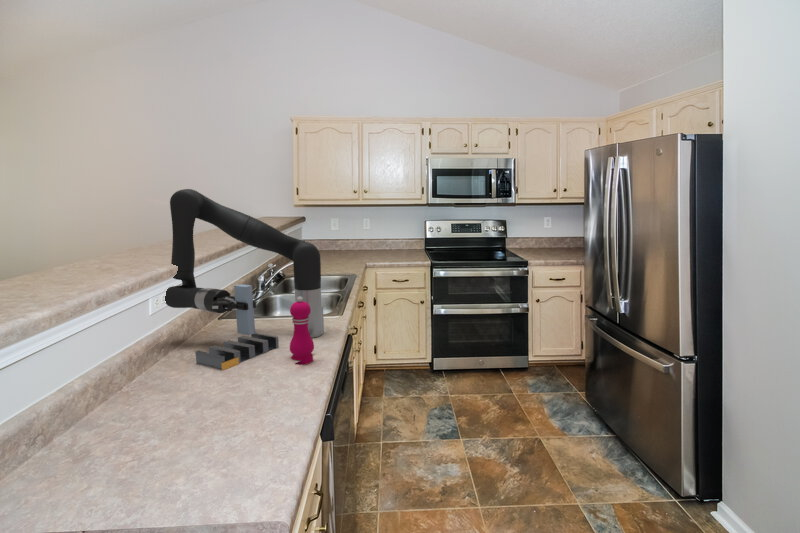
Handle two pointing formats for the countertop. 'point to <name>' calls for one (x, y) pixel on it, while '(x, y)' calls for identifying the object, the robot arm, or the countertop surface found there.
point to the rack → (237, 351)
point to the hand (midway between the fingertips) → (251, 305)
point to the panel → (245, 316)
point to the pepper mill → (301, 333)
